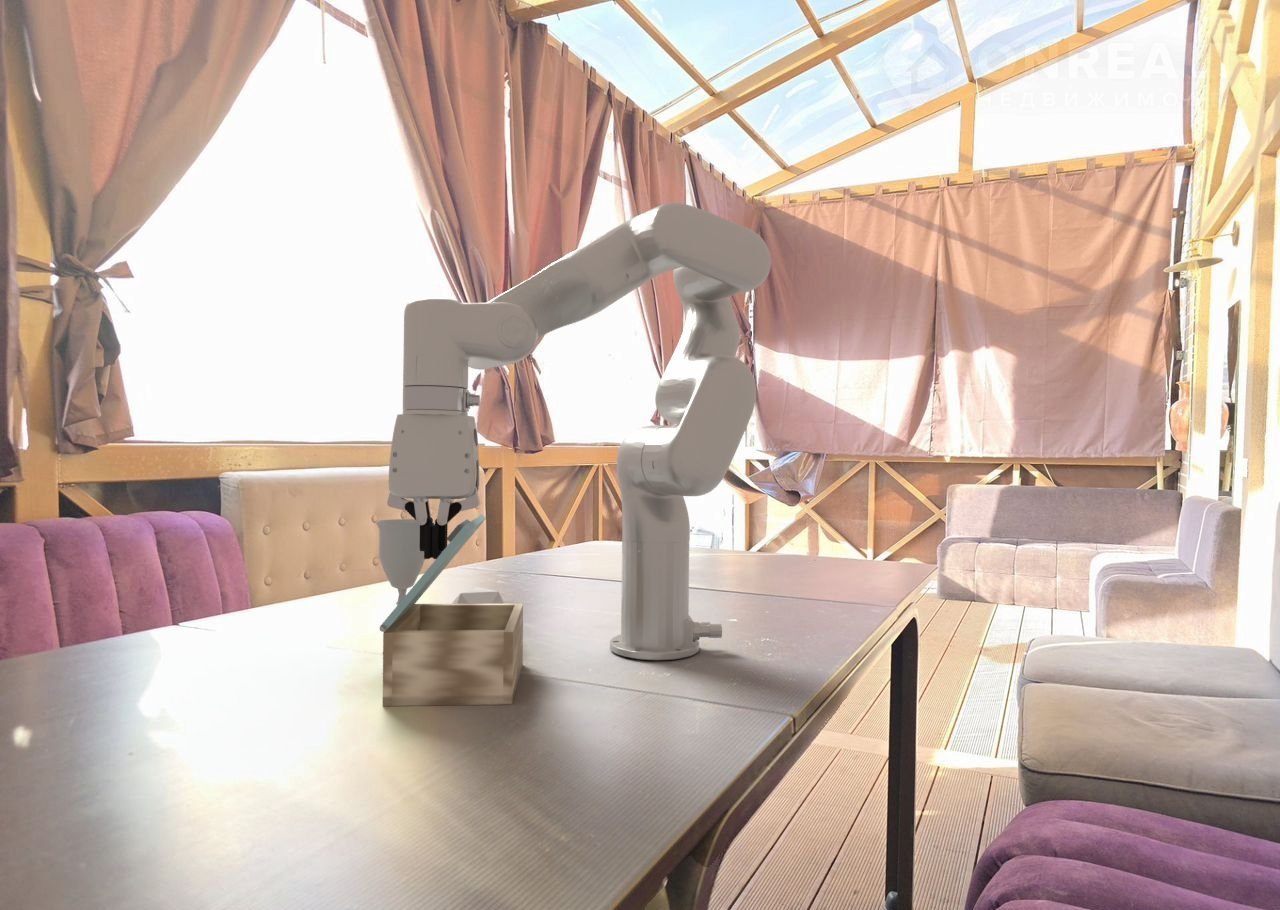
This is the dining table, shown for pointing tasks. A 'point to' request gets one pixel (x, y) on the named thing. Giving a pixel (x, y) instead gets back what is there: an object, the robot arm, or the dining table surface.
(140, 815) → the dining table surface
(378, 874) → the dining table surface
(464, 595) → the die
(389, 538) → the chalice
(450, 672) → the chest
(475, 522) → the lid
